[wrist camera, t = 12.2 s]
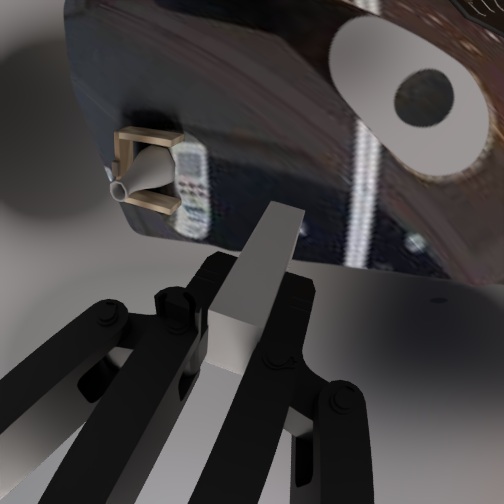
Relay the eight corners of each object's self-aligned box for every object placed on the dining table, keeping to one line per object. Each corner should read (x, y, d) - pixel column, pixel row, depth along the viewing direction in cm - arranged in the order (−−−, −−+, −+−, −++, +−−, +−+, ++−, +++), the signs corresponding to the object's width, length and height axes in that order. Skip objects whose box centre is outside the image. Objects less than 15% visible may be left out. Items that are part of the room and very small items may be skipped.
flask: (180, 186, 46) (144, 216, 38) (144, 186, 48) (107, 214, 40) (172, 142, 41) (131, 164, 34) (135, 146, 44) (93, 168, 36)
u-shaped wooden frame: (130, 191, 49) (115, 201, 46) (127, 125, 42) (110, 133, 38) (181, 204, 47) (167, 217, 44) (184, 134, 40) (168, 141, 37)
